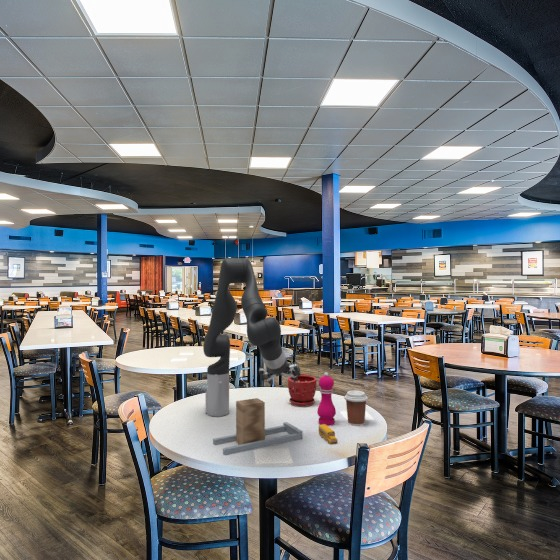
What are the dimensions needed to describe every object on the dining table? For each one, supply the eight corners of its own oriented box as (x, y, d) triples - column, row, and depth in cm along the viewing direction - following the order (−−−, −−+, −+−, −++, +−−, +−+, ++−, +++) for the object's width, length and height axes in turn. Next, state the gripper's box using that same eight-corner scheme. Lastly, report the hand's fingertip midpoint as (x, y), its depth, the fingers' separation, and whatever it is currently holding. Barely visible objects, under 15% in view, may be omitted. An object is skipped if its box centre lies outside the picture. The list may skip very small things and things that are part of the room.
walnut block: (243, 448, 135) (243, 405, 135) (236, 442, 140) (236, 401, 140) (264, 443, 139) (264, 402, 139) (257, 437, 144) (257, 398, 144)
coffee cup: (343, 419, 165) (343, 389, 165) (366, 419, 164) (366, 389, 164) (345, 426, 156) (344, 395, 156) (369, 427, 155) (369, 395, 155)
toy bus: (329, 445, 138) (329, 433, 138) (318, 435, 148) (318, 424, 148) (338, 444, 139) (337, 432, 139) (326, 434, 149) (326, 423, 149)
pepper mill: (316, 420, 164) (316, 370, 164) (334, 420, 164) (334, 370, 164) (318, 426, 157) (317, 374, 157) (336, 426, 157) (336, 374, 157)
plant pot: (282, 404, 187) (282, 378, 187) (299, 398, 197) (299, 373, 197) (305, 409, 178) (304, 382, 178) (322, 403, 188) (322, 377, 188)
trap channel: (224, 456, 129) (224, 446, 129) (213, 444, 139) (213, 435, 139) (302, 439, 143) (302, 430, 143) (286, 430, 153) (286, 422, 153)
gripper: (294, 346, 140) (301, 369, 152) (254, 351, 142) (264, 374, 153) (295, 365, 135) (303, 388, 147) (254, 371, 137) (264, 392, 148)
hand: (283, 381), depth 150 cm, fingers open, 8 cm apart
